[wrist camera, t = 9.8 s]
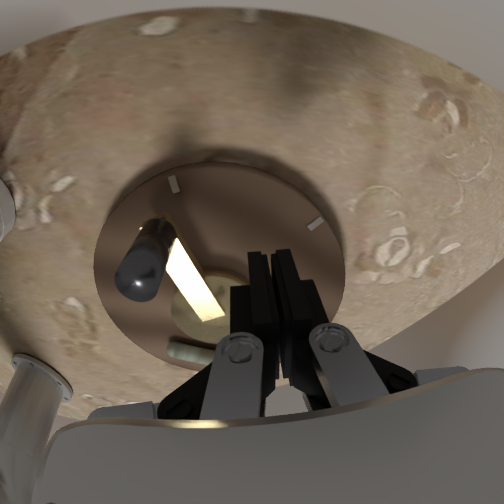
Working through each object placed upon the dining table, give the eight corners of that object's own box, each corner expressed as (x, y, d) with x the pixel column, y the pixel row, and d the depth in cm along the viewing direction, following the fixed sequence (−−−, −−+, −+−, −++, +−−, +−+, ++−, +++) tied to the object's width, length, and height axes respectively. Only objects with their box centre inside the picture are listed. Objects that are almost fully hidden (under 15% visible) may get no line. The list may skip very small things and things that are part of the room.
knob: (269, 316, 25) (277, 386, 19) (199, 337, 26) (191, 403, 20) (201, 187, 19) (181, 240, 12) (120, 226, 20) (78, 286, 14)
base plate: (285, 371, 33) (288, 395, 30) (104, 332, 29) (94, 356, 26) (380, 211, 22) (399, 231, 19) (113, 134, 18) (91, 143, 15)
